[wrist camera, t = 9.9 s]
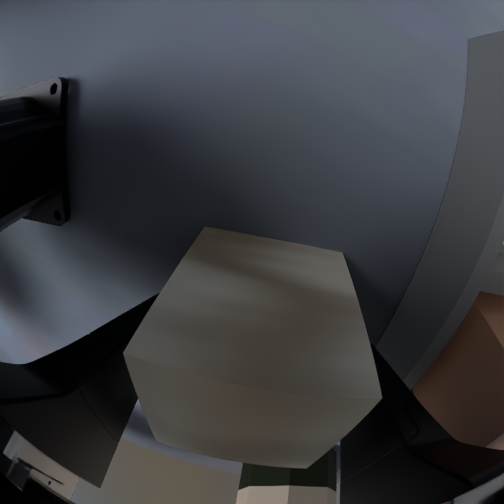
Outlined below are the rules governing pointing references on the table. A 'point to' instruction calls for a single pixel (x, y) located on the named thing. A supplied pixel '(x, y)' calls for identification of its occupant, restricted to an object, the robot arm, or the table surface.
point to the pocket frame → (459, 227)
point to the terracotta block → (470, 377)
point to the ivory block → (254, 352)
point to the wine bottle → (289, 483)
